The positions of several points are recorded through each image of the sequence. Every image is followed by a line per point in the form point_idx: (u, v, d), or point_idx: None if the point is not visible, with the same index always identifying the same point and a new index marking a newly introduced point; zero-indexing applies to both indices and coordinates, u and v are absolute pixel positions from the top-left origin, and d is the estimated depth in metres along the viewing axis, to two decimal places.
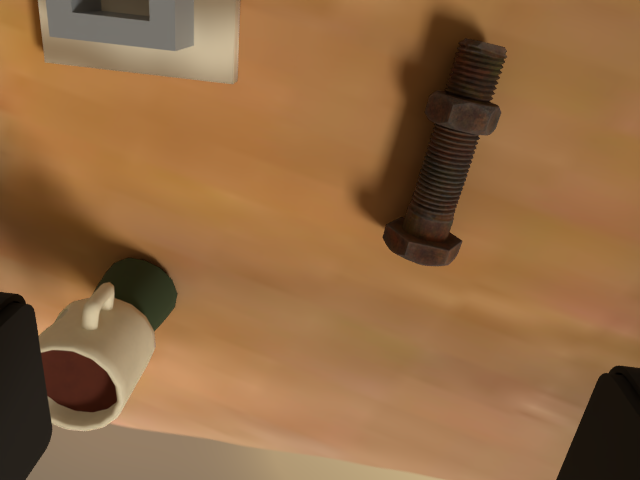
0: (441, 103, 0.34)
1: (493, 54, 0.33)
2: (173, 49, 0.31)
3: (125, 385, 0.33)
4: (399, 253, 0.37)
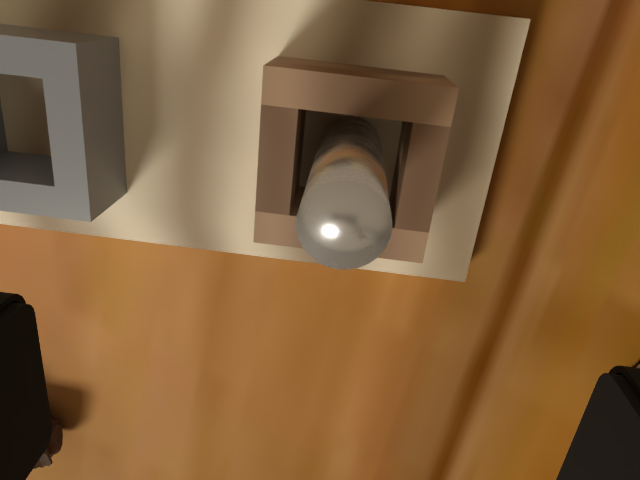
0: None
1: (38, 462, 0.34)
2: None
3: None
4: None
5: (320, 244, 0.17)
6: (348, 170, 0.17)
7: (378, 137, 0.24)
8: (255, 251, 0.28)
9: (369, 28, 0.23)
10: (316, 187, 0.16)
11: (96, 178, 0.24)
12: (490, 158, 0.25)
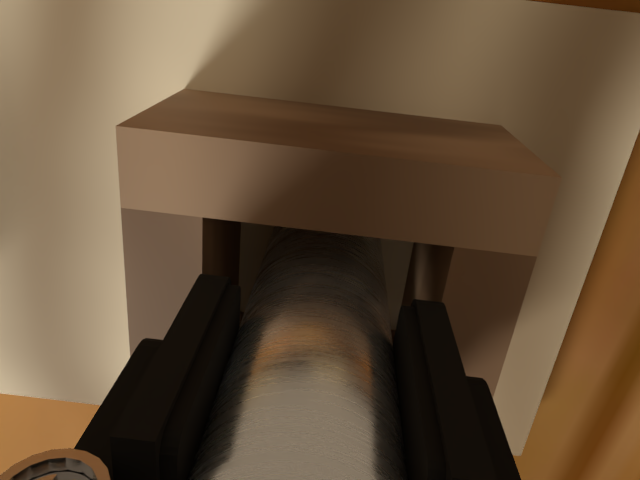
0: None
1: None
2: None
3: None
4: None
5: None
6: None
7: (376, 241, 0.13)
8: None
9: (358, 36, 0.12)
10: None
11: None
12: (578, 269, 0.14)
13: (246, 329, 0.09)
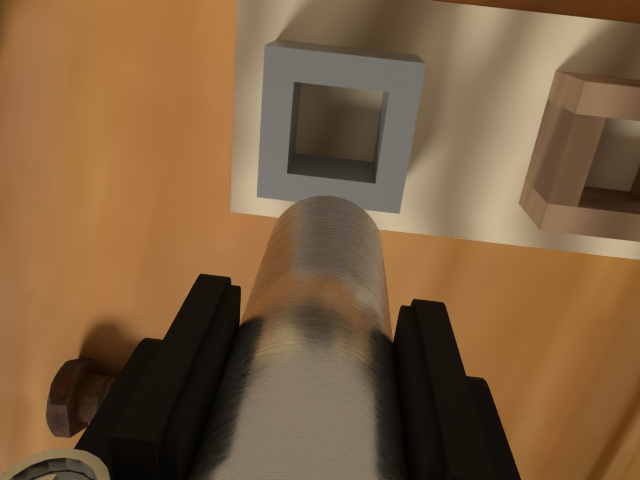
0: None
1: None
2: (258, 195, 0.28)
3: None
4: (51, 395, 0.36)
5: None
6: None
7: (377, 240, 0.13)
8: (499, 239, 0.32)
9: None
10: None
11: None
12: None
13: (246, 328, 0.09)
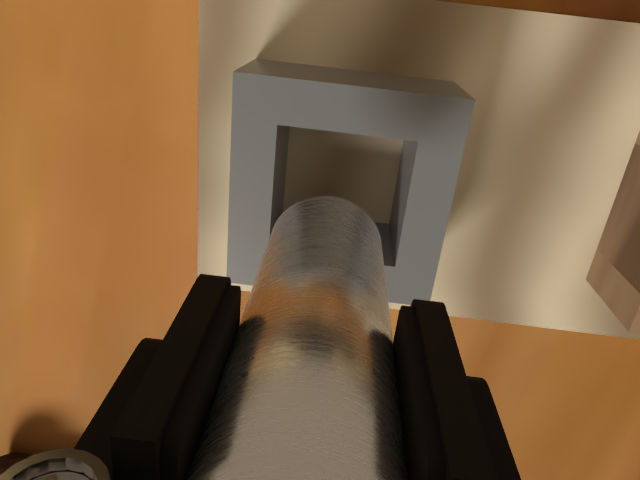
0: None
1: None
2: None
3: None
4: None
5: None
6: None
7: (377, 240, 0.13)
8: (557, 324, 0.24)
9: None
10: None
11: None
12: None
13: (246, 328, 0.09)
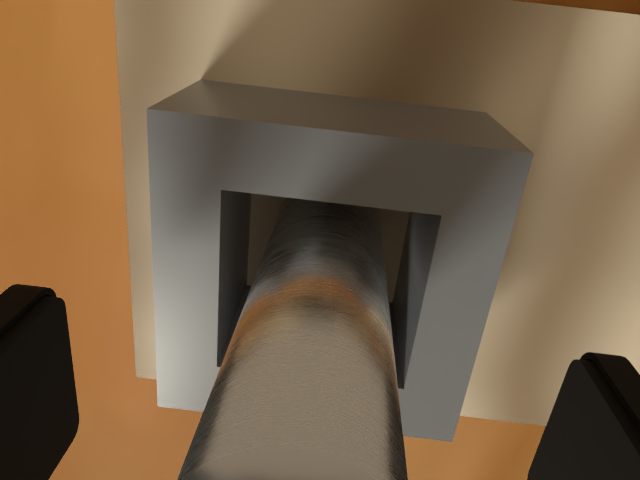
0: None
1: None
2: (161, 403, 0.13)
3: None
4: None
5: None
6: (301, 388, 0.07)
7: (375, 216, 0.14)
8: None
9: None
10: (210, 456, 0.06)
11: None
12: None
13: (259, 279, 0.10)
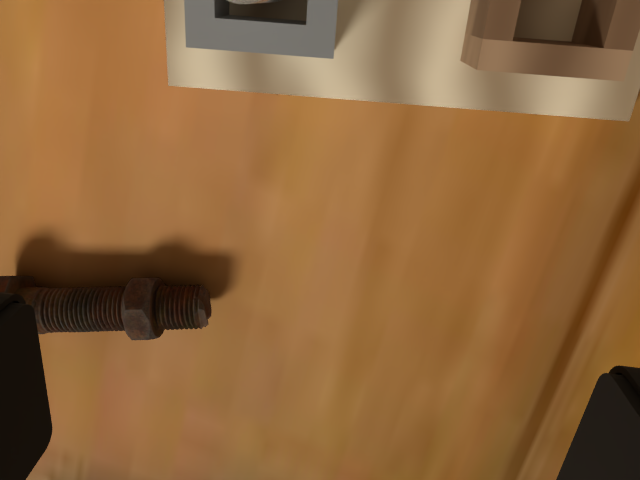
0: (141, 294, 0.36)
1: (197, 321, 0.37)
2: (187, 45, 0.27)
3: None
4: None
5: None
6: None
7: None
8: (444, 102, 0.32)
9: None
10: None
11: None
12: None
13: None
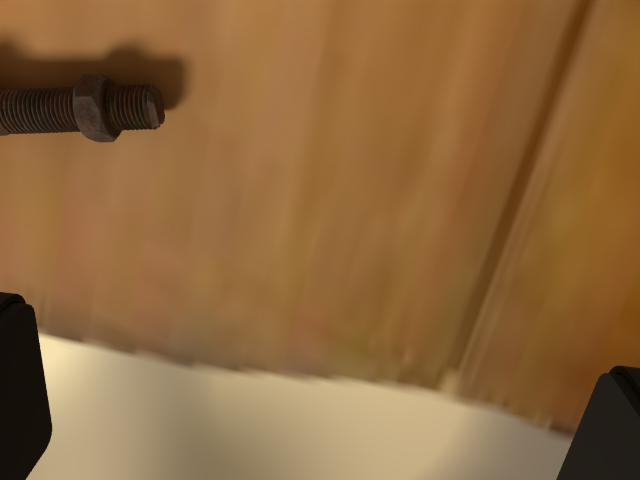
0: (92, 86, 0.37)
1: (148, 116, 0.38)
2: None
3: None
4: None
5: None
6: None
7: None
8: None
9: None
10: None
11: None
12: None
13: None
